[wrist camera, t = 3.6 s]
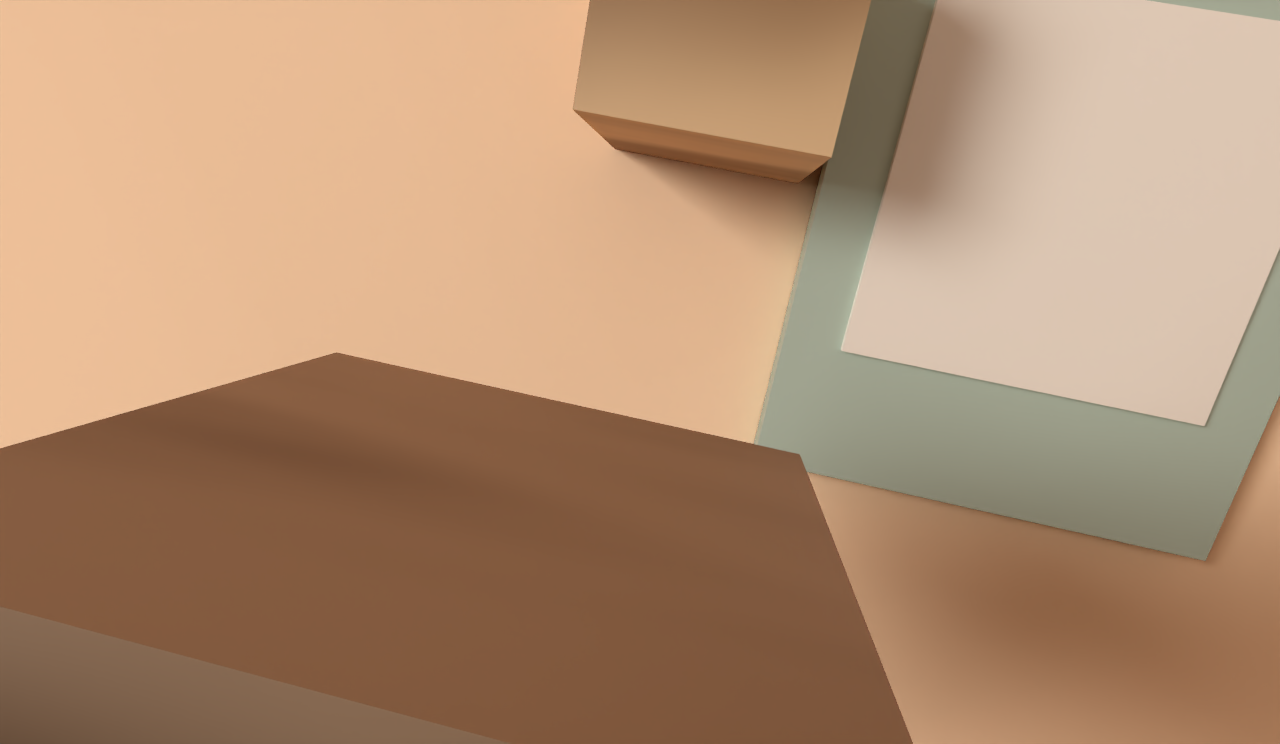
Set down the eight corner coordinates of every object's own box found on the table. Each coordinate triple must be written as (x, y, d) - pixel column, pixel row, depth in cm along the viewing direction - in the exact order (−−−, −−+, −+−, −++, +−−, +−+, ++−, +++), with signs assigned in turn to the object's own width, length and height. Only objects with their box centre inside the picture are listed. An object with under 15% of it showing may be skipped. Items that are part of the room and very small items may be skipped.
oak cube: (797, 183, 16) (831, 157, 11) (615, 149, 17) (573, 109, 12) (847, -23, 15) (910, -152, 10) (651, -55, 15) (620, -193, 11)
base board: (1182, 546, 17) (1211, 565, 16) (752, 450, 18) (754, 462, 17) (1469, -114, 13) (1529, -142, 12) (910, -190, 14) (924, -221, 13)
